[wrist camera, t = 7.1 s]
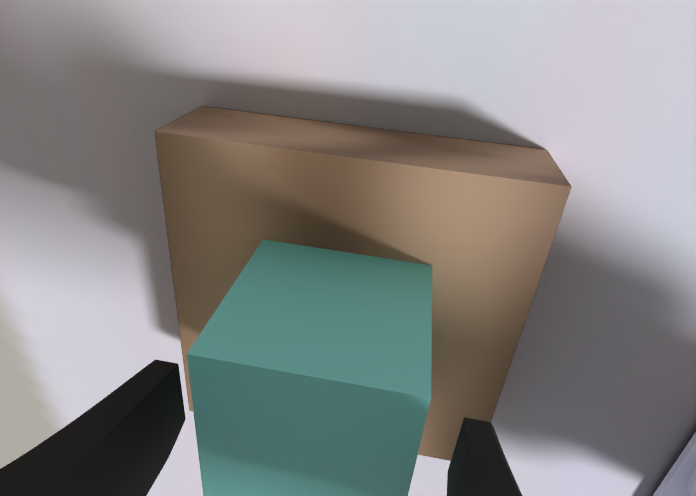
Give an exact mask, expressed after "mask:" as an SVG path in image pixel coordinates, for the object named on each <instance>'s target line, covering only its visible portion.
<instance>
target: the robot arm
mask: <svg viewBox="0 0 696 496" xmlns="http://www.w3.org/2000/svg"><path fill="white" fill-rule="evenodd" d="M184 421H185V412H184V405H183V397H182V389H181V382H180V374H179V367H178V364H176V363H171V362H165V361H160V360H155V361H153V362H152V363H150V364H149V365H148V366H146V367H145V368H144V369H142V370H141V371H140V372H138V373H137V374H136V375H134V376H133V377H132V378H130V379H129V380H128V381H127V382H125V383H124V384H123V385H121V386H120V387H119V388H117V389H116V390H115V391H113V392H112V393H111V394H109V395H108V396H107V397H105V398H104V399H103V400H101V401H100V402H99V403H97V404H96V405H95V406H93V407H92V408H91V409H89V410H88V411H86V412H85V413H84V414H82V415H81V416H80V417H78V418H77V419H75V420H74V421H73V422H71V423H70V424H68V425H67V426H66V427H64V428H63V429H61V430H60V431H58V432H57V433H55V434H54V435H52V436H51V437H49V438H48V439H46V440H45V441H43V442H42V443H41V444H39V445H38V446H36V447H35V448H33V449H32V450H30V451H28V452H27V453H25V454H24V455H22V456H21V457H19V458H18V459H16V460H14V461H13V462H11V463H10V464H8V465H6V466H5V467H3V468H1V469H0V496H146V495H147V493H148V492H149V490H150V488H151V487H152V485H153V483H154V482H155V480H156V478H157V476H158V475H159V473H160V471H161V470H162V468H163V466H164V464H165V463H166V461H167V459H168V457H169V455H170V453H171V451H172V449H173V446H174V444H175V442H176V440H177V438H178V435H179V433H180V431H181V428H182V426H183V424H184ZM447 496H522V494H521V492H520V490H519V487H518V485H517V483H516V481H515V479H514V476H513V474H512V472H511V469H510V467H509V465H508V462H507V460H506V458H505V455H504V453H503V450H502V448H501V445H500V443H499V440H498V437H497V435H496V432H495V429H494V426H493V425H492V424H491V423H490V422H487V421H482V420H477V419H471V418H466V417H464V419H463V422H462V426H461V429H460V432H459V436H458V439H457V442H456V446H455V449H454V452H453V456H452V459H451V462H450V466H449V469H448V482H447ZM653 496H696V432H695V434H694V435H693V437H692V438H691V440H690V441H689V443H688V444H687V445H686V447H685V448H684V450H683V451H682V453H681V454H680V456H679V457H678V459H677V460H676V462H675V463H674V465H673V466H672V468H671V469H670V471H669V472H668V474H667V475H666V477H665V478H664V480H663V481H662V483H661V484H660V485H659V487H658V488H657V490H656V491H655V493H654V494H653Z"/></svg>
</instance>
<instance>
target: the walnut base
mask: <svg viewBox="0 0 696 496" xmlns="http://www.w3.org/2000/svg"><path fill="white" fill-rule="evenodd" d="M155 139H156V147H157V155H158V163H159V171H160V179H161V187H162V195H163V203H164V211H165V219H166V227H167V235H168V243H169V251H170V259H171V267H172V275H173V283H174V291H175V299H176V307H177V315H178V323H179V331H180V339H181V347H182V355H183V363H184V371H185V379H186V387H187V395H188V403H189V411H193V403H192V395H191V386H190V378H189V369H188V361H187V353H188V351H189V350H190V348H191V347H192V345H193V344H194V342H195V341H196V339H197V338H198V336H199V335H200V333H201V332H202V330H203V329H204V327H205V326H206V324H207V323H208V321H209V320H210V318H211V317H212V315H213V314H214V312H215V311H216V309H217V308H218V306H219V305H220V303H221V302H222V300H223V299H224V297H225V296H226V294H227V293H228V291H229V290H230V288H231V287H232V285H233V284H234V282H235V281H236V279H237V278H238V276H239V275H240V273H241V272H242V270H243V269H244V267H245V266H246V264H247V263H248V261H249V260H250V258H251V257H252V255H253V254H254V252H255V251H256V249H257V248H258V246H259V245H260V243H261V242H262V240H270V241H276V242H283V243H289V244H296V245H302V246H309V247H316V248H322V249H329V250H335V251H342V252H348V253H355V254H361V255H368V256H374V257H381V258H388V259H394V260H401V261H407V262H414V263H420V264H427V265H432V358H431V401H430V405H429V409H428V413H427V417H426V421H425V426H424V430H423V434H422V438H421V442H420V446H419V450H418V455H423V456H429V457H434V458H439V459H444V460H449V461H451V459H452V456H453V452H454V449H455V446H456V442H457V439H458V436H459V432H460V429H461V426H462V422H463V419H464V417H466V418H471V419H477V420H482V421H487V422H491V419H492V417H493V414H494V411H495V408H496V405H497V402H498V399H499V396H500V393H501V390H502V387H503V385H504V382H505V379H506V376H507V373H508V370H509V367H510V364H511V361H512V358H513V355H514V353H515V350H516V347H517V344H518V341H519V338H520V335H521V332H522V329H523V326H524V323H525V321H526V318H527V315H528V312H529V309H530V306H531V303H532V300H533V297H534V294H535V292H536V289H537V286H538V283H539V280H540V277H541V274H542V271H543V268H544V265H545V262H546V260H547V257H548V254H549V251H550V248H551V245H552V242H553V239H554V236H555V233H556V230H557V228H558V225H559V222H560V219H561V216H562V213H563V210H564V207H565V204H566V201H567V198H568V196H569V193H570V190H571V185H570V184H569V182H568V181H567V179H566V178H565V176H564V175H563V173H562V172H561V170H560V169H559V167H558V166H557V164H556V163H555V161H554V160H553V158H552V157H551V155H550V154H549V152H548V151H547V150H543V149H535V148H527V147H520V146H512V145H504V144H496V143H488V142H480V141H472V140H464V139H456V138H448V137H440V136H433V135H425V134H417V133H409V132H401V131H393V130H385V129H377V128H369V127H361V126H353V125H346V124H338V123H330V122H322V121H314V120H306V119H298V118H290V117H282V116H274V115H267V114H259V113H251V112H243V111H235V110H227V109H219V108H211V107H203V106H201V107H199V108H197V109H195V110H194V111H192V112H190V113H188V114H186V115H184V116H182V117H180V118H179V119H177V120H175V121H173V122H171V123H169V124H167V125H165V126H164V127H162V128H160V129H158V130H156V131H155Z"/></svg>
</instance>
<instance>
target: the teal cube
mask: <svg viewBox="0 0 696 496" xmlns="http://www.w3.org/2000/svg"><path fill="white" fill-rule="evenodd" d="M431 358H432V265H427V264H420V263H414V262H407V261H401V260H394V259H388V258H381V257H374V256H368V255H361V254H355V253H348V252H342V251H335V250H329V249H322V248H316V247H309V246H302V245H296V244H289V243H283V242H276V241H270V240H262V242H261V243H260V245H259V246H258V248H257V249H256V251H255V252H254V254H253V255H252V257H251V258H250V260H249V261H248V263H247V264H246V266H245V267H244V269H243V270H242V272H241V273H240V275H239V276H238V278H237V279H236V281H235V282H234V284H233V285H232V287H231V288H230V290H229V291H228V293H227V294H226V296H225V297H224V299H223V300H222V302H221V303H220V305H219V306H218V308H217V309H216V311H215V312H214V314H213V315H212V317H211V318H210V320H209V321H208V323H207V324H206V326H205V327H204V329H203V330H202V332H201V333H200V335H199V336H198V338H197V339H196V341H195V342H194V344H193V345H192V347H191V348H190V350H189V351H188V353H187V361H188V369H189V378H190V386H191V395H192V403H193V411H194V420H195V428H196V437H197V445H198V453H199V462H200V470H201V478H202V487H203V495H204V496H408V492H409V488H410V484H411V479H412V475H413V471H414V467H415V463H416V459H417V455H418V450H419V446H420V442H421V438H422V434H423V430H424V426H425V421H426V417H427V413H428V409H429V405H430V401H431Z"/></svg>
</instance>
